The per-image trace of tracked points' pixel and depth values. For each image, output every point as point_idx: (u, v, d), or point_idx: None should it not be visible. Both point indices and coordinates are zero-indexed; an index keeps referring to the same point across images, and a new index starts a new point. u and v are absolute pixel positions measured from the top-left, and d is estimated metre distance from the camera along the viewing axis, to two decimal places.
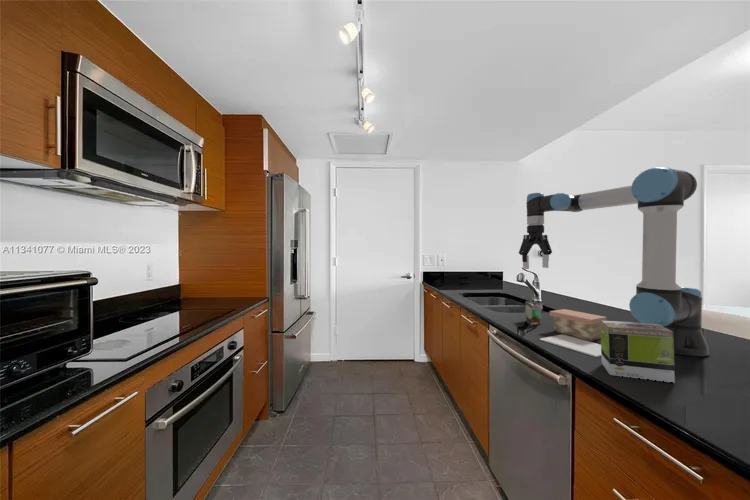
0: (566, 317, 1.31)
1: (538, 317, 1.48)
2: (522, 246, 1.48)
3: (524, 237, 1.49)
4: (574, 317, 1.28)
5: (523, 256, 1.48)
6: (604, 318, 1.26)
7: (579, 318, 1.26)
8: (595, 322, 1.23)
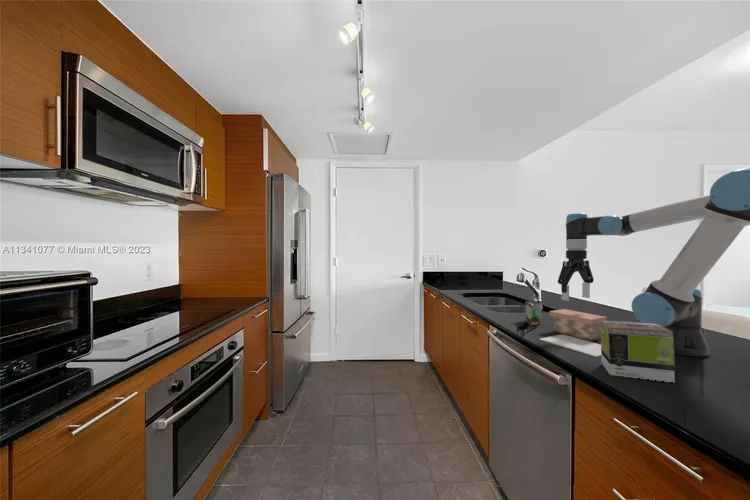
0: (566, 317, 1.31)
1: (538, 317, 1.48)
2: (562, 274, 1.29)
3: (564, 264, 1.30)
4: (574, 317, 1.28)
5: (563, 286, 1.29)
6: (604, 318, 1.26)
7: (579, 318, 1.26)
8: (595, 322, 1.23)
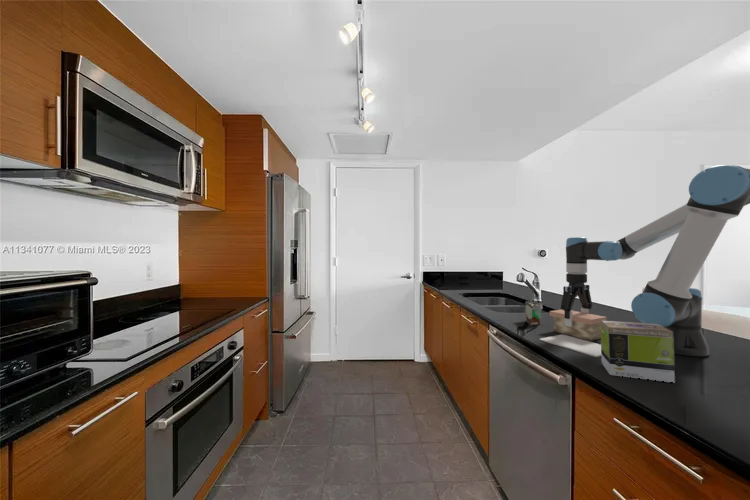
0: None
1: (538, 317, 1.48)
2: (564, 300, 1.29)
3: (564, 289, 1.30)
4: (574, 317, 1.28)
5: (566, 312, 1.30)
6: (604, 318, 1.26)
7: (579, 318, 1.26)
8: (595, 322, 1.23)
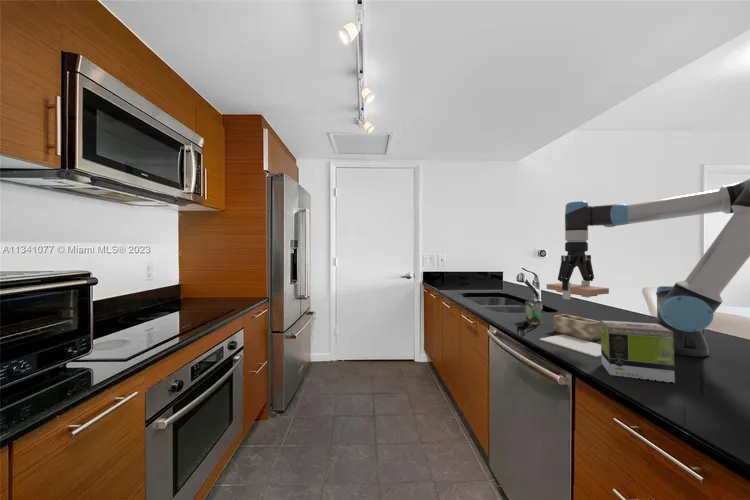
0: None
1: (538, 317, 1.48)
2: (561, 271, 1.18)
3: (562, 259, 1.19)
4: (572, 289, 1.17)
5: (563, 283, 1.18)
6: (606, 289, 1.14)
7: (578, 289, 1.15)
8: (595, 293, 1.12)
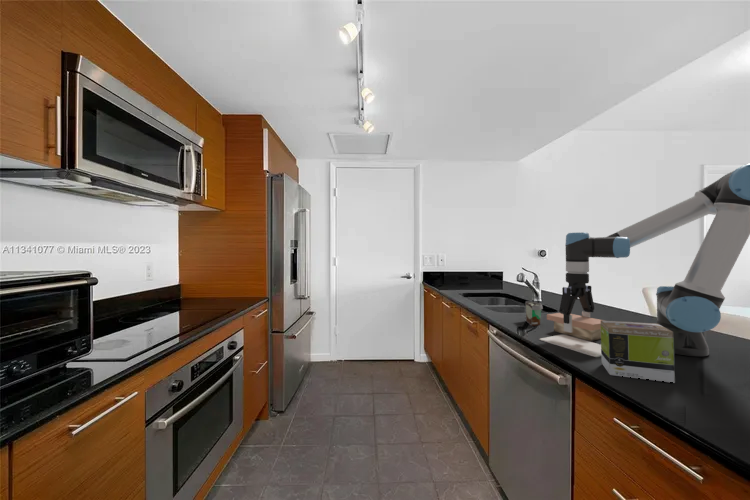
0: None
1: (538, 317, 1.48)
2: (563, 303, 1.16)
3: (564, 291, 1.16)
4: (574, 322, 1.15)
5: (565, 316, 1.16)
6: None
7: (580, 323, 1.13)
8: (598, 327, 1.10)
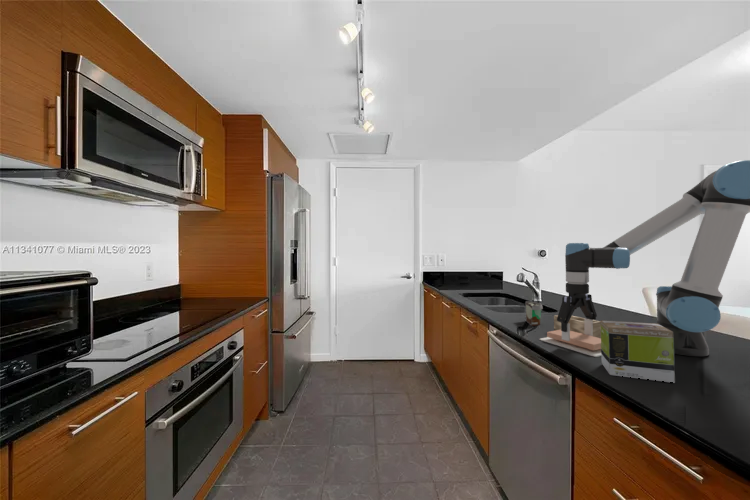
0: (565, 340, 1.18)
1: (538, 317, 1.48)
2: (561, 311, 1.15)
3: (563, 299, 1.16)
4: (574, 340, 1.15)
5: (562, 324, 1.15)
6: None
7: (580, 342, 1.13)
8: (598, 347, 1.10)
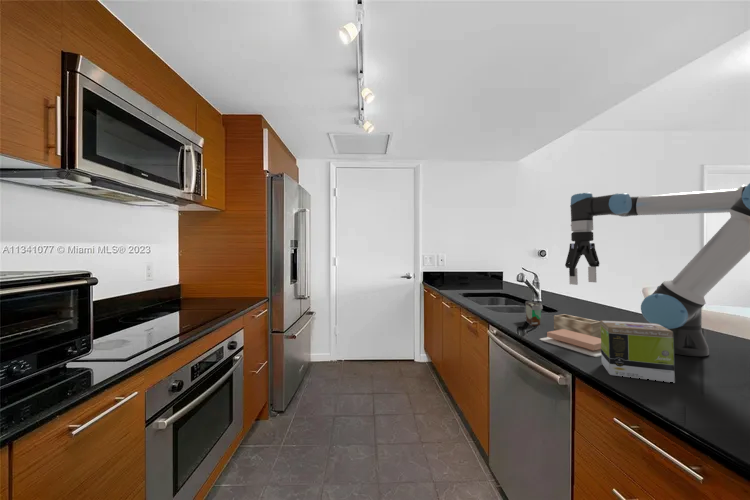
0: (565, 340, 1.18)
1: (538, 317, 1.48)
2: (569, 257, 1.22)
3: (571, 246, 1.23)
4: (574, 340, 1.15)
5: (570, 269, 1.22)
6: None
7: (580, 342, 1.13)
8: (598, 347, 1.10)
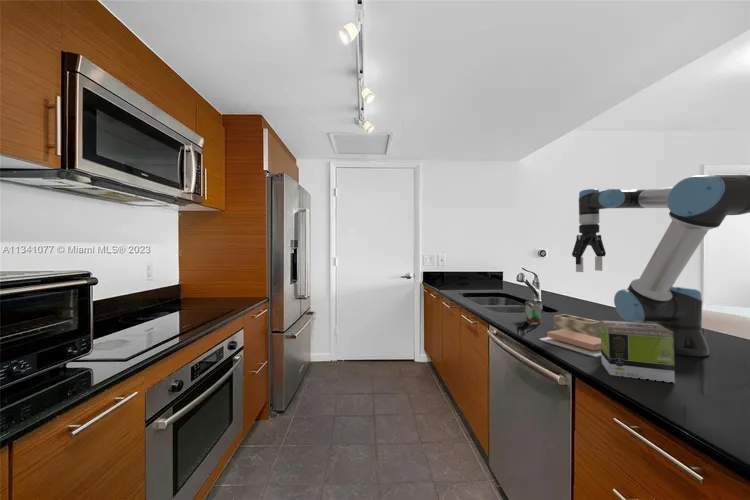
0: (565, 340, 1.18)
1: (538, 317, 1.48)
2: (576, 247, 1.35)
3: (577, 237, 1.36)
4: (574, 340, 1.15)
5: (577, 258, 1.35)
6: None
7: (580, 342, 1.13)
8: (598, 347, 1.10)
